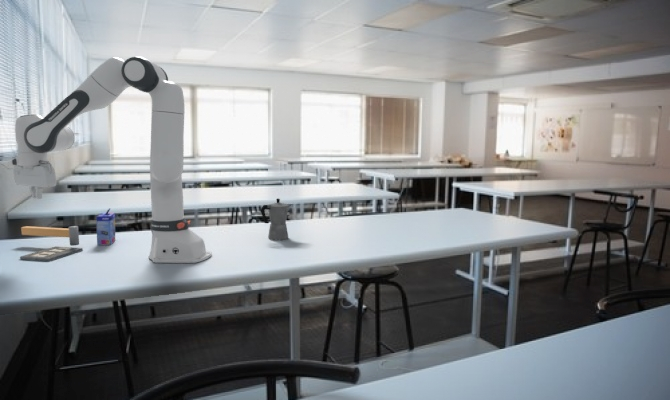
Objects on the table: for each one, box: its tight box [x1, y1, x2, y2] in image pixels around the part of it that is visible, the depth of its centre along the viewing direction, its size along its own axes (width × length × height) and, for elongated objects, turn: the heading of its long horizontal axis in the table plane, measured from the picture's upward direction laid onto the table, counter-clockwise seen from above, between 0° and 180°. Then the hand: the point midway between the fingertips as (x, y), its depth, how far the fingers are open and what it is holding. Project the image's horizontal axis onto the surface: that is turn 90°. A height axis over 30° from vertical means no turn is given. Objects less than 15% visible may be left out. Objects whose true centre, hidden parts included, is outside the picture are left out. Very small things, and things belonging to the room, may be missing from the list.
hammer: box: [20, 225, 80, 247], centre depth 178 cm, size 3×25×7 cm, turn 79°
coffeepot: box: [260, 198, 292, 241], centre depth 198 cm, size 15×9×18 cm, turn 129°
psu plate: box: [19, 246, 84, 262], centre depth 166 cm, size 12×16×1 cm
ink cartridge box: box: [95, 208, 116, 246], centre depth 186 cm, size 10×6×14 cm, turn 15°
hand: (37, 198), depth 162 cm, fingers closed
